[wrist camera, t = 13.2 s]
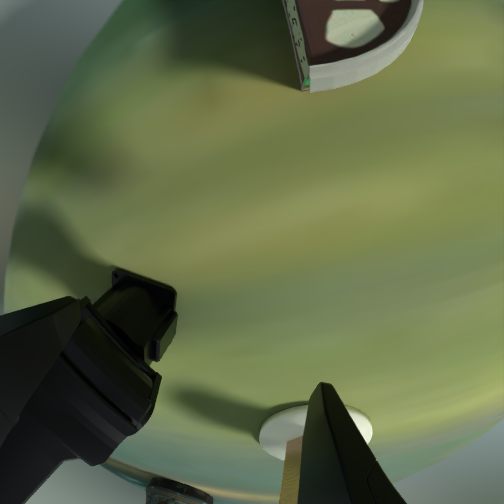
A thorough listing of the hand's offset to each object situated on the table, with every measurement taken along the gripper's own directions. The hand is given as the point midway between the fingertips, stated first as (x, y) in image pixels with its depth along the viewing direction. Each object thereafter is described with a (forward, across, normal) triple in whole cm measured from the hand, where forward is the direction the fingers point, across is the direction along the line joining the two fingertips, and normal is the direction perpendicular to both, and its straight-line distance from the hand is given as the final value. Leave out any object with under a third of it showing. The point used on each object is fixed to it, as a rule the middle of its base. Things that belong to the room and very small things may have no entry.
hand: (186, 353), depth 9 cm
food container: (+13, -2, -16) cm, 21 cm away
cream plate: (+13, -14, +23) cm, 30 cm away
